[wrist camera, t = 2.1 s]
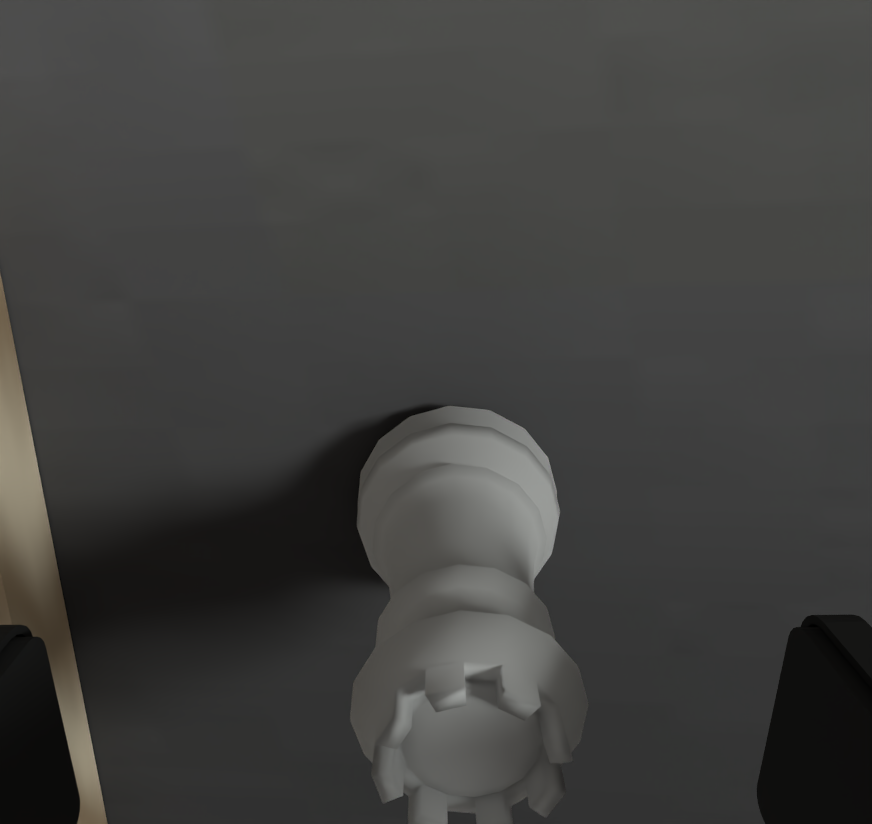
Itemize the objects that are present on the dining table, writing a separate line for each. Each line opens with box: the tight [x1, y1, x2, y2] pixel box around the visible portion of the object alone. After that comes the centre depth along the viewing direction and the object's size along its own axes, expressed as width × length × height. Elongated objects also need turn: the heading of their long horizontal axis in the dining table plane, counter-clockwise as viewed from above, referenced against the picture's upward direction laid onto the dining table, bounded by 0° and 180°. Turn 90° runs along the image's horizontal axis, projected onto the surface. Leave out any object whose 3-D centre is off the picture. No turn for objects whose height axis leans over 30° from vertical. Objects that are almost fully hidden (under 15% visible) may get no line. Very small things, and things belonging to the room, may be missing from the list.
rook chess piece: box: [350, 406, 588, 824], centre depth 13 cm, size 4×4×8 cm
